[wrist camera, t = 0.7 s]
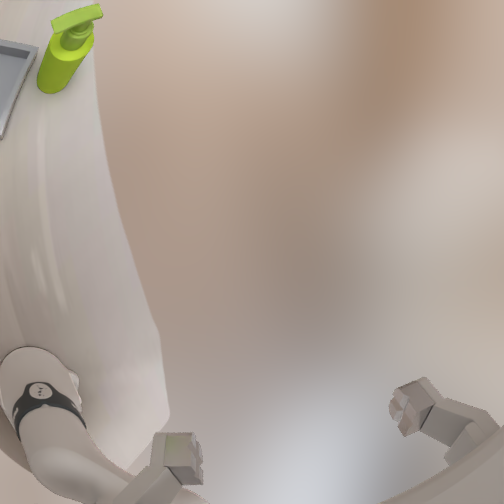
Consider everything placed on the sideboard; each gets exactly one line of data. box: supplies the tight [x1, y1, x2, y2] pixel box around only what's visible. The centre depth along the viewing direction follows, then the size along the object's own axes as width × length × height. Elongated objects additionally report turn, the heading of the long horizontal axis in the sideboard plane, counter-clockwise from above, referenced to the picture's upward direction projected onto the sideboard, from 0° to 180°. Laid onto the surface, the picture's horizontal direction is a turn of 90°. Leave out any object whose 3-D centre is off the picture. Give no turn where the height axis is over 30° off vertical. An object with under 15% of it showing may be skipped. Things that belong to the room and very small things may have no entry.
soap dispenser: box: [37, 4, 103, 94], centre depth 21 cm, size 6×7×20 cm
